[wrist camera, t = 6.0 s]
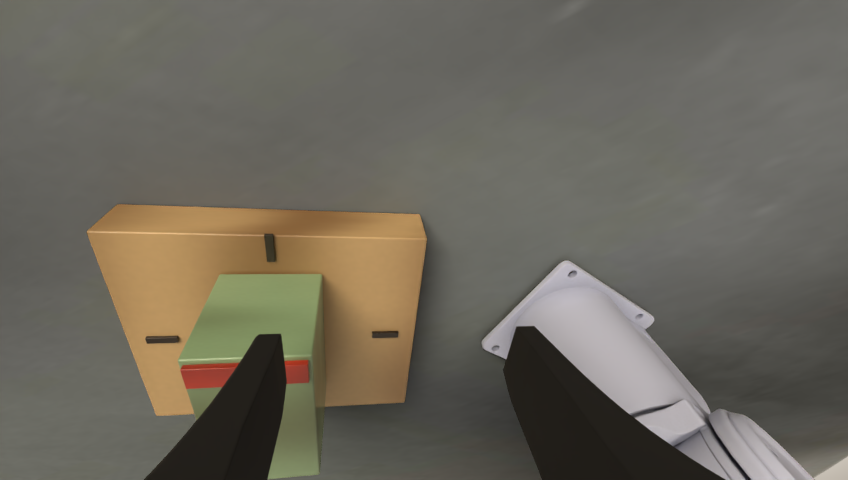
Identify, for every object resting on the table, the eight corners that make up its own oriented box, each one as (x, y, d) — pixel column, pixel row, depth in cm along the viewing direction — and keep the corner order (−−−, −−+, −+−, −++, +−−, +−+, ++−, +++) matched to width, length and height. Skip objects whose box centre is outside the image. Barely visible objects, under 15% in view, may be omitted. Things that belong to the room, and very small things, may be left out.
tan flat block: (420, 212, 20) (428, 238, 18) (400, 371, 27) (404, 406, 24) (116, 201, 18) (81, 231, 16) (173, 380, 24) (155, 420, 22)
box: (326, 385, 23) (319, 480, 18) (242, 390, 22) (214, 490, 17) (322, 273, 18) (311, 360, 14) (219, 273, 18) (173, 366, 13)
